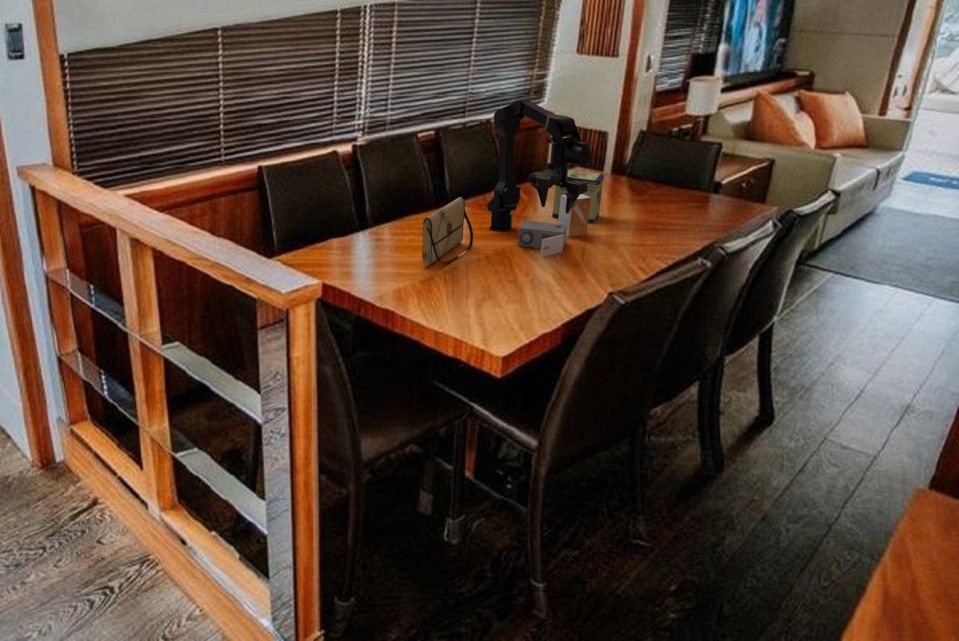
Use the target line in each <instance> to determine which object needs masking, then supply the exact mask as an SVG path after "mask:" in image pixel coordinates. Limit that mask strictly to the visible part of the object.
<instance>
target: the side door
mask: <svg viewBox="0 0 959 641" xmlns="http://www.w3.org/2000/svg"><path fill="white" fill-rule="evenodd" d="M564 236H565V235H564V234H562V235H558V236H554V237H550V238H546V239H542V246H541V248H540V257H541V258H546V257H549V256H552V254H553V255H556V254H559V253H563V252H564V247H565V244H564ZM563 246H564V247H563Z"/></svg>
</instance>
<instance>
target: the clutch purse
mask: <svg viewBox="0 0 959 641" xmlns="http://www.w3.org/2000/svg"><path fill="white" fill-rule="evenodd" d="M464 222H466V224H467V227H468V231H469V235H470V236H469V244H468V246H467V247H466V248H465V249H464V250H463V251H462V252H464V251H466V250H468V251H469V250H470V249H471V248H472V246H473V243H474V232H473V231H474V230H473V228H472V227H473V226H472V224H471V221H470V219H469V216H468V214H467V212H466V203H465V199H464V198H463V196H459V197H457V198H456V199H454V200H453V201H451V202H449V203H448V204H446V205H445V206H443V207H442V208H440V209H438V210H437V211H435V212H433V213H432V214H429V215H428V216H427V217H425V218H424V219H423V222H422V223H423V225H422V249H421V250H422V252H421V254H422V258H421V259H422V263H423V265H424V266H425V265H426V266H429V267H430V266H431V265H432V264H434V262H436V261H438V262H439V263H441V264H450V263H451V262H454V261H455V259H456V260H457V259H459V258H458V255H456V256H455V257H453V258H451V259H448V260H447V261H446V260H445V261H441V259H440V258H441V257H442V256H444V255H445V254H446V253H448V252H449V251H450V250H451V249H453V248H454V247H456V246H458V244H461V243H462V240H463V238H464ZM453 260H454V261H453ZM426 266H425V267H426Z"/></svg>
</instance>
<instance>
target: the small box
mask: <svg viewBox="0 0 959 641" xmlns="http://www.w3.org/2000/svg"><path fill="white" fill-rule="evenodd" d="M566 201H567V197H566V195H561V200H560V210H559V218H558V221H557V224H565V225H567V230H566V237H567V238H574V237H579V236H587V233H588V227H589V226H588V225H589V224H588V218H589V209H590V201H591V197H588V196H586V195H583V194H581V195H579V197H578V198H577V200H576V201H575V203H574V204H573V206H572V208H571V210H570V212H569V213H568V214H566Z"/></svg>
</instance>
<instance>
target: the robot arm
mask: <svg viewBox="0 0 959 641" xmlns="http://www.w3.org/2000/svg"><path fill="white" fill-rule="evenodd" d="M526 117H527V118H529V119H530V120H532V121H534V122H535V123H538V124H539V125H540V126H542V127H544V129H545V132H546V133H548V135H550V138H548V139H547V140H546V143H548V144H551V147H550V148H551V149H550V160H549V162H547V164H546V168H545V169H543V170H542V171H536V172H533V173H530V174H529V176H528V183H529V184H531V186H532V187H533V188H535V190H536V191H537V194H538V197H539V201H540V204H541V207H542V208H545V207H546V205H547V204H546V203H547V201H548V200H547V199H548V194H549V189H551V188H552V187H553V186H555V185H556V186H560V187H564V188H566V190H567V193H565V195H566V197H567V201H566V214H568V213H569V212H570V210H571V208H572V206H573V204H574V203H575V201H576V200H577V198H578V197H579V195H581V194H583V193H585V192H587V188H588V186H587V184H586V183H585V182H581V181H573V182H567V181H568V180H570V177H568V170H569V168H571V167H572V165H574V166H579V167H583V168H585V167H587V166H588V165H589V164H590V163H591V160H592V157H593V156H592V151H591V149H590V148H589V147H588V146H589V143H587V142H582V138H581V135H580V133H579V130H578V128H577V126H576V123H575V122H576V121H575V119H574V118H573V117H571V116H566V115H563V114H555V113H553V112H551V111H549V110H547V109H546V108H544V107H542V106H541V105H538V104H536V103H534V102H533V101H532V100H531V99H529V98H521V99H520V98H519V99H516V100H515V101H513V102H512V103H510V104H508V105H506V106H503V107H502V108H498V109H496V111H495V112H494V113H493V124H494V130H495V131H496V133H497V136H498V137H499V138H498V139H499V141H498V142H499V143H498V144H499V148H498V149H499V150H498V152H499V153H498V154H499V155H498V156H499V157H498V158H499V159H498V160H499V161H498V181H497V184H496V185H495V188H494V191H493V198H492V199H490V200H489V201H488V202H487V204H486V206H487V211H489V212H491V215H490V216H491V217H490V218H491V219H490V226H489V230H491V231H492V230H493V231H494V230H495V231H501V232H509V231H510V229H512V226H513V219H514V218H513V216H514V215H513V214H512V212H513V211H516V210H517V206H518V205H519V203H520V200H521V187H520V186H518V185H517V184H516V182H515V156H516V155H515V150H516V149H515V147H516V145H515V143H516V140H515V139H516V135H517V133H518V132H519V129H520V127H521V120H523V119H525V118H526ZM560 183H562V184H560Z"/></svg>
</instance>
